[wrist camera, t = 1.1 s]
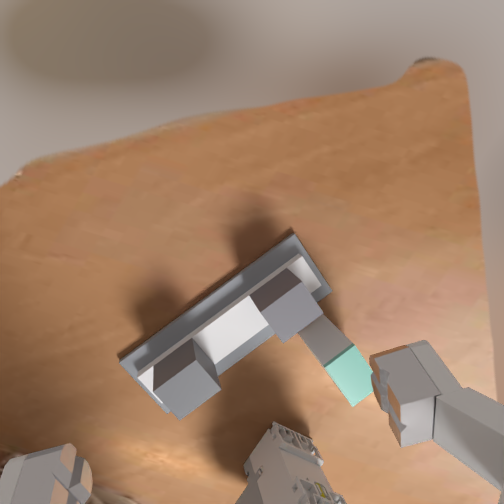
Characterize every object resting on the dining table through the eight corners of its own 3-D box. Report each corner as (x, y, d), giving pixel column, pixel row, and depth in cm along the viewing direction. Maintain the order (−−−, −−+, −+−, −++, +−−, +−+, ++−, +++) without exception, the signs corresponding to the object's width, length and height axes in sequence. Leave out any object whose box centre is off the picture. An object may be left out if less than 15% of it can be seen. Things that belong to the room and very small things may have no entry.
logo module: (323, 313, 59) (355, 345, 49) (346, 348, 61) (381, 385, 51) (297, 332, 58) (324, 368, 49) (322, 367, 61) (352, 406, 51)
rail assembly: (330, 289, 58) (357, 310, 50) (167, 410, 57) (168, 452, 49) (292, 232, 55) (315, 246, 47) (119, 360, 54) (112, 395, 46)
